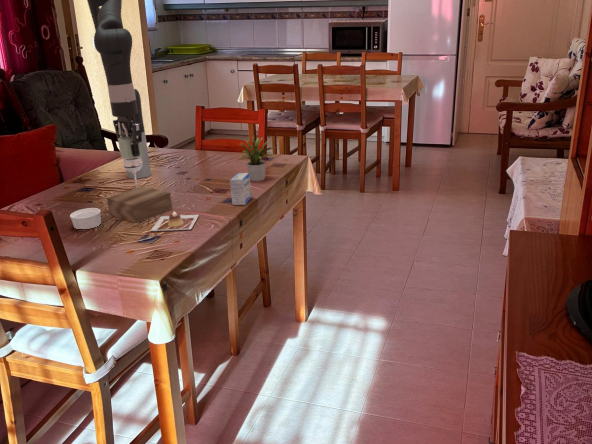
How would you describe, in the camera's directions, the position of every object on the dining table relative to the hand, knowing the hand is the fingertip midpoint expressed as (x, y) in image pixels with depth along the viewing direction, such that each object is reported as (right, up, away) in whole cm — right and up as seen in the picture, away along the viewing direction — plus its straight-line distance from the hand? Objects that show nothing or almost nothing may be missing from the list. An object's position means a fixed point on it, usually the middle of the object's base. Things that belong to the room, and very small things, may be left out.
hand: (131, 154), depth 177 cm
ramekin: (-13, -22, -2) cm, 26 cm away
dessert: (+15, -22, -5) cm, 27 cm away
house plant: (+36, -6, +33) cm, 49 cm away
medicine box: (+33, -14, +11) cm, 38 cm away
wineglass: (-6, -10, +30) cm, 32 cm away
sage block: (0, -1, 0) cm, 1 cm away
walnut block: (+1, -18, +7) cm, 19 cm away
